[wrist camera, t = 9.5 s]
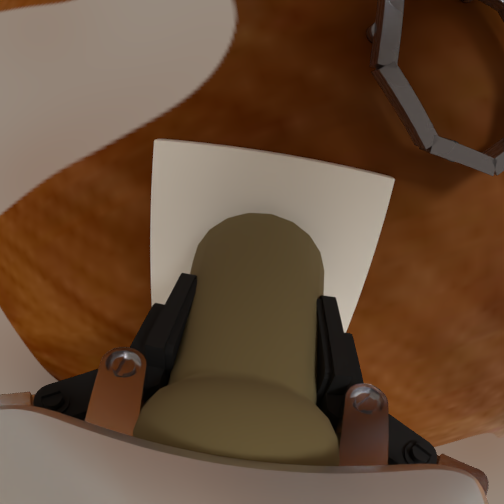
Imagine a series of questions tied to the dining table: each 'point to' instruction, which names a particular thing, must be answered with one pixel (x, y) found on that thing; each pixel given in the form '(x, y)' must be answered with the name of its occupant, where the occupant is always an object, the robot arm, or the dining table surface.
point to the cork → (248, 351)
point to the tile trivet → (264, 209)
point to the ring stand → (405, 100)
